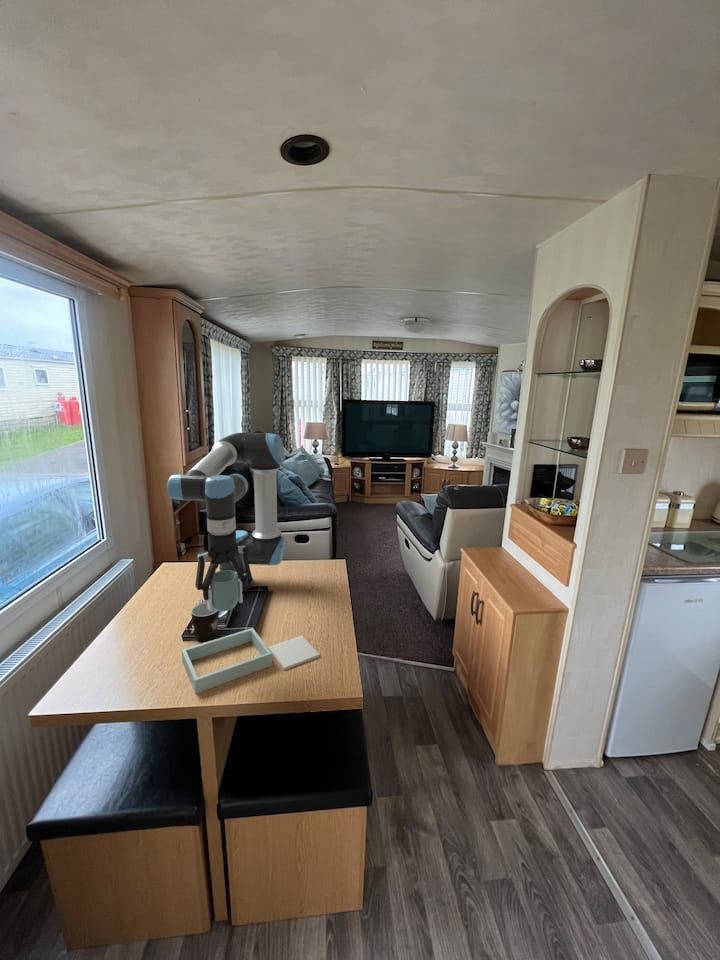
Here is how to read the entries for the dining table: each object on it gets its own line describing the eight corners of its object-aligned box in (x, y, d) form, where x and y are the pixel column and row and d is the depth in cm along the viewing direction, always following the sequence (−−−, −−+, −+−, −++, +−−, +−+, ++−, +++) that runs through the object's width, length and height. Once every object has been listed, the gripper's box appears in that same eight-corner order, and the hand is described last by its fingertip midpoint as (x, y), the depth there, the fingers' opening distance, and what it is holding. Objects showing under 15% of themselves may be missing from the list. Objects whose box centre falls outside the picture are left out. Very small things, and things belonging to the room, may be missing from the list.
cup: (230, 616, 114) (229, 583, 112) (205, 612, 116) (203, 580, 114) (244, 602, 122) (242, 571, 120) (220, 599, 123) (218, 568, 121)
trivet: (268, 649, 130) (268, 647, 129) (302, 637, 136) (302, 635, 136) (284, 670, 120) (284, 667, 120) (319, 656, 127) (319, 654, 127)
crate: (182, 661, 122) (181, 649, 122) (253, 638, 135) (252, 627, 134) (195, 693, 110) (194, 680, 109) (272, 665, 122) (272, 653, 121)
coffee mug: (213, 626, 141) (212, 600, 139) (224, 637, 135) (223, 609, 133) (179, 639, 133) (177, 611, 131) (189, 651, 127) (188, 622, 125)
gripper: (185, 542, 105) (190, 621, 110) (262, 528, 116) (264, 600, 121) (179, 533, 111) (184, 609, 116) (253, 521, 122) (255, 590, 127)
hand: (225, 604), depth 119 cm, fingers closed on cup, 8 cm apart
